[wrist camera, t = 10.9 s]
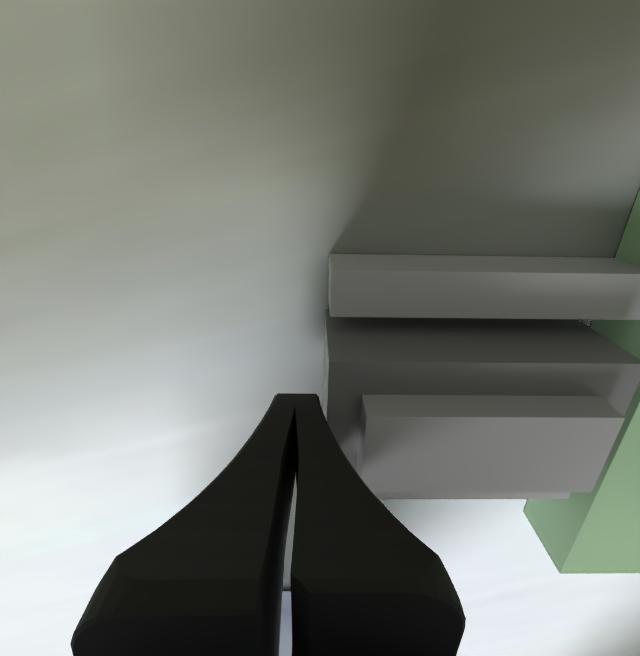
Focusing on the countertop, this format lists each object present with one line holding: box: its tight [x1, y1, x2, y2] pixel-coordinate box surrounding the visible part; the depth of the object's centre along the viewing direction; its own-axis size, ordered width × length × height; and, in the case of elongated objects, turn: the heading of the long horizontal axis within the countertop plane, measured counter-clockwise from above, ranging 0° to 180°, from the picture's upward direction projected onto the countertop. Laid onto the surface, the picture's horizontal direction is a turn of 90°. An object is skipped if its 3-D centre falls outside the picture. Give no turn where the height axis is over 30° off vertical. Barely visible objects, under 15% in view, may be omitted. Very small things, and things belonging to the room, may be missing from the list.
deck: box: [328, 189, 640, 573], centre depth 13 cm, size 16×18×4 cm
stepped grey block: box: [322, 310, 640, 493], centre depth 13 cm, size 5×9×5 cm, turn 89°
